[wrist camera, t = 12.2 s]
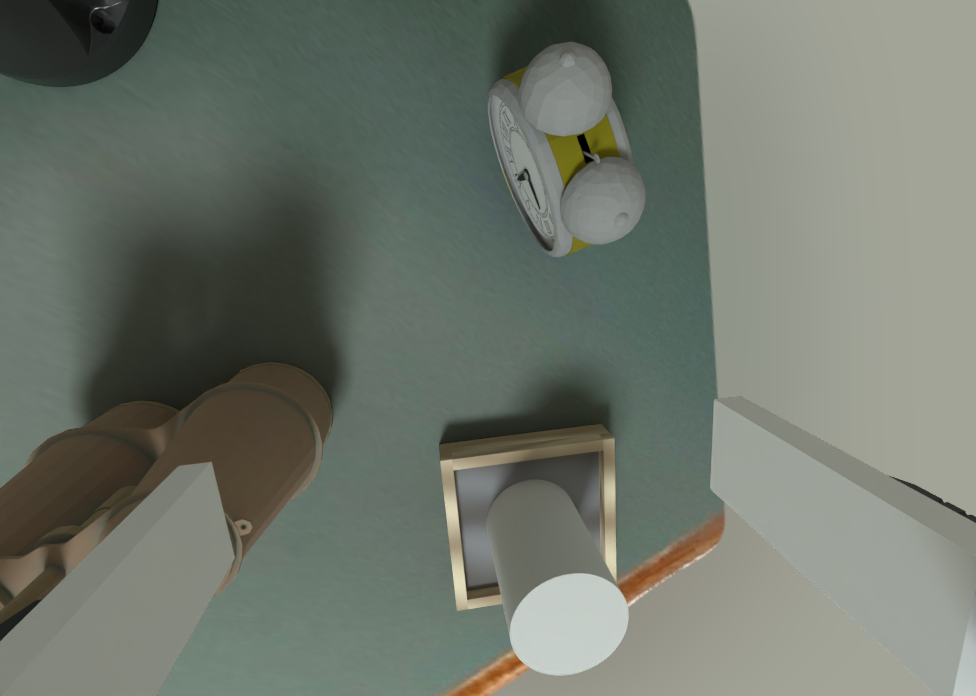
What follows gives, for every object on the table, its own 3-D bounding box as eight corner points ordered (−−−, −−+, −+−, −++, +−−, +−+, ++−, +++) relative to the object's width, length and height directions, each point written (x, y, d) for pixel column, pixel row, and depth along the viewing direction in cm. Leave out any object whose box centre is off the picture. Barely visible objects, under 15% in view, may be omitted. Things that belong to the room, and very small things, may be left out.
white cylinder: (471, 542, 44) (488, 657, 32) (511, 466, 42) (545, 557, 31) (549, 570, 46) (592, 687, 34) (590, 497, 44) (650, 594, 33)
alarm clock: (473, 112, 37) (505, 41, 23) (555, 76, 37) (637, -17, 23) (529, 254, 40) (588, 271, 26) (604, 221, 40) (704, 219, 26)
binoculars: (312, 342, 40) (142, 522, 16) (353, 448, 43) (262, 740, 18) (59, 417, 39) (-539, 732, 15) (117, 521, 41) (-306, 932, 17)
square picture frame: (439, 444, 43) (440, 461, 40) (601, 423, 45) (614, 438, 42) (454, 585, 47) (457, 610, 44) (604, 562, 49) (616, 585, 46)
